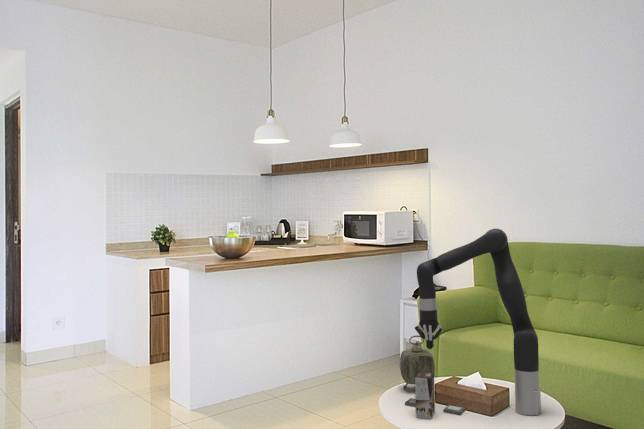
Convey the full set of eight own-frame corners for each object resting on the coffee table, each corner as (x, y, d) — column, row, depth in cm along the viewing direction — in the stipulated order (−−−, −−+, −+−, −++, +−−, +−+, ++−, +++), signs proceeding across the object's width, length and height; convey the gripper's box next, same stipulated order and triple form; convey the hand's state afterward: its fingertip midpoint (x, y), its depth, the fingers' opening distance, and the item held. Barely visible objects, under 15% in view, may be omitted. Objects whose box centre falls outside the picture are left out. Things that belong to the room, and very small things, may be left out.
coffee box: (431, 419, 217) (430, 378, 217) (415, 417, 219) (414, 377, 219) (435, 411, 225) (434, 372, 225) (419, 410, 228) (418, 370, 228)
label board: (465, 410, 226) (465, 407, 226) (460, 415, 221) (460, 411, 221) (410, 401, 239) (410, 397, 239) (404, 405, 234) (404, 401, 234)
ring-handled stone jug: (431, 386, 258) (429, 333, 258) (436, 392, 249) (435, 337, 249) (400, 387, 257) (399, 334, 257) (404, 394, 248) (403, 338, 248)
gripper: (446, 307, 237) (447, 348, 237) (417, 306, 244) (418, 345, 244) (439, 310, 231) (441, 352, 231) (410, 309, 238) (412, 349, 238)
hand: (430, 348), depth 238 cm, fingers closed
